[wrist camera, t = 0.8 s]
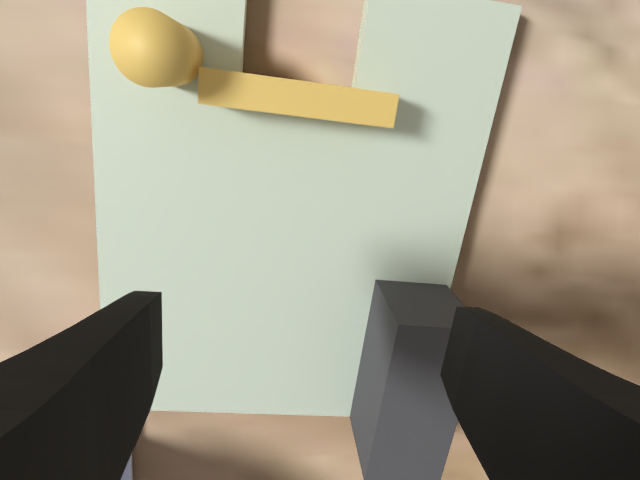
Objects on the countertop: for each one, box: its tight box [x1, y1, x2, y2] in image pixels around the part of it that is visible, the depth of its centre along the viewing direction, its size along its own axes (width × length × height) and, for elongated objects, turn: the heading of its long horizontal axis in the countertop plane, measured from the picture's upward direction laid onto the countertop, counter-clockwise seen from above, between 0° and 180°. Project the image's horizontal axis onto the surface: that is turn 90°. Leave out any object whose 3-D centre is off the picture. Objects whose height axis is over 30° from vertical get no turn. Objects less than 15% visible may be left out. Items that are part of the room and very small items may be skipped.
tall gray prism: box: [350, 279, 465, 480], centre depth 20 cm, size 8×4×4 cm, turn 173°
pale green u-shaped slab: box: [86, 0, 522, 417], centre depth 18 cm, size 20×16×4 cm
